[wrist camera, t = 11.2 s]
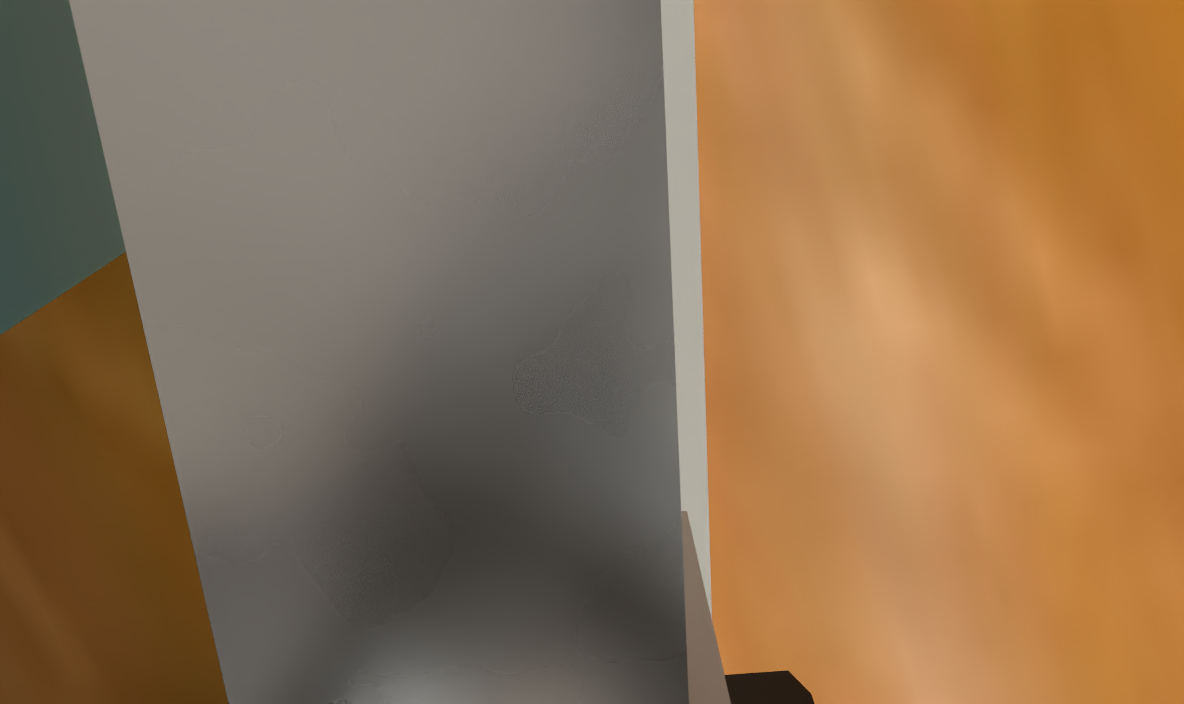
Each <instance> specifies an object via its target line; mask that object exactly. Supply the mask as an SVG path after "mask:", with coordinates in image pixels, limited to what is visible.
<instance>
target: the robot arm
mask: <svg viewBox="0 0 1184 704" xmlns="http://www.w3.org/2000/svg"><path fill="white" fill-rule="evenodd" d="M681 519H682V544H683V568H684V593H685V618H686V643H687V667H688V692H689V704H814V701H813V698H812V695H811V693H810V692H809V691H808V690H807V689H806V688H805V687H804V686H803V685H802V684H801V683H800V682H799V681H798V680H797V679H796V678H795V677H794V676H793V675H792V674H791V673H790V672H789V671H775V672H761V673H747V674H733V675H724V671H723V667H722V662H721V658H720V654H719V649H718V645H717V640H716V636H715V632H714V627H713V623H712V619H711V614H710V610H709V605H708V601H707V597H706V592H705V588H704V583H703V579H702V575H701V570H700V566H699V562H698V557H697V553H696V548H695V544H694V540H693V535H692V531H691V527H690V522H689V518H688V513H687V511H681Z"/></svg>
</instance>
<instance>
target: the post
mask: <svg viewBox="0 0 1184 704" xmlns="http://www.w3.org/2000/svg"><path fill="white" fill-rule="evenodd" d="M125 252H126V249H125V245H124V240H123V236H122V231H121V227H120V223H119V218H118V214H117V209H116V205H115V201H114V196H113V192H112V187H111V183H110V179H109V174H108V170H107V165H106V161H105V157H104V152H103V148H102V143H101V139H100V135H99V130H98V126H97V121H96V117H95V113H94V108H93V104H92V99H91V95H90V91H89V86H88V82H87V77H86V73H85V68H84V64H83V60H82V55H81V51H80V46H79V42H78V38H77V33H76V29H75V24H74V20H73V16H72V11H71V7H70V2H69V0H0V335H1V334H2V333H4V332H5V331H7V330H8V329H10V328H11V327H13V326H14V325H16V324H18V323H19V322H21V321H22V320H24V319H25V318H27V317H28V316H30V315H31V314H33V313H34V312H36V311H37V310H39V309H40V308H42V307H43V306H45V305H46V304H48V303H49V302H51V301H52V300H54V299H55V298H57V297H58V296H60V295H61V294H63V293H64V292H66V291H67V290H69V289H70V288H72V287H73V286H75V285H76V284H78V283H79V282H81V281H82V280H84V279H85V278H87V277H88V276H90V275H91V274H93V273H94V272H96V271H97V270H99V269H100V268H102V267H103V266H105V265H107V264H108V263H110V262H111V261H113V260H114V259H116V258H117V257H119V256H120V255H122V254H123V253H125Z"/></svg>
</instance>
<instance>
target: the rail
mask: <svg viewBox="0 0 1184 704" xmlns="http://www.w3.org/2000/svg"><path fill="white" fill-rule="evenodd" d="M69 2H70V7H71V11H72V16H73V20H74V24H75V29H76V33H77V38H78V42H79V46H80V51H81V55H82V60H83V64H84V68H85V73H86V77H87V82H88V86H89V91H90V95H91V99H92V104H93V108H94V113H95V117H96V121H97V126H98V130H99V135H100V139H101V143H102V148H103V152H104V157H105V161H106V165H107V170H108V174H109V179H110V183H111V187H112V192H113V196H114V201H115V205H116V209H117V214H118V218H119V223H120V227H121V231H122V236H123V240H124V245H125V249H126V254H127V258H128V262H129V267H130V271H131V276H132V280H133V284H134V289H135V293H136V298H137V302H138V306H139V311H140V315H141V320H142V324H143V328H144V333H145V337H146V342H147V346H148V350H149V355H150V359H151V364H152V368H153V372H154V377H155V381H156V386H157V390H158V395H159V399H160V403H161V408H162V412H163V417H164V421H165V425H166V430H167V434H168V439H169V443H170V447H171V452H172V456H173V461H174V465H175V469H176V474H177V478H178V483H179V487H180V491H181V496H182V500H183V505H184V509H185V513H186V518H187V522H188V527H189V531H190V535H191V540H192V544H193V549H194V553H195V558H196V562H197V566H198V571H199V575H200V580H201V584H202V588H203V593H204V597H205V602H206V606H207V610H208V615H209V619H210V624H211V628H212V632H213V637H214V641H215V646H216V650H217V654H218V659H219V663H220V668H221V672H222V676H223V681H224V685H225V690H226V694H227V699H228V703H229V704H689V692H688V667H687V643H686V618H685V593H684V568H683V544H682V519H681V494H680V469H679V445H678V420H677V395H676V370H675V345H674V321H673V296H672V271H671V246H670V222H669V197H668V172H667V147H666V123H665V98H664V73H663V48H662V24H661V0H69Z"/></svg>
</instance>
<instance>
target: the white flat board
mask: <svg viewBox="0 0 1184 704" xmlns="http://www.w3.org/2000/svg"><path fill="white" fill-rule="evenodd" d="M661 24H662V48H663V73H664V98H665V123H666V147H667V172H668V197H669V222H670V246H671V271H672V296H673V321H674V345H675V370H676V395H677V420H678V445H679V469H680V494H681V511H687V513H688V518H689V522H690V527H691V531H692V535H693V540H694V544H695V548H696V553H697V557H698V562H699V566H700V570H701V575H702V579H703V583H704V588H705V592H706V597H707V601H708V605H709V610H710V614H711V619H712V609H711V575H710V542H709V508H708V475H707V441H706V408H705V374H704V341H703V307H702V274H701V240H700V207H699V173H698V140H697V106H696V73H695V39H694V6H693V0H661Z"/></svg>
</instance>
